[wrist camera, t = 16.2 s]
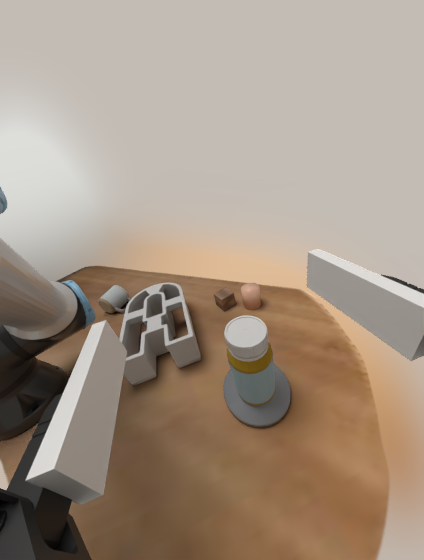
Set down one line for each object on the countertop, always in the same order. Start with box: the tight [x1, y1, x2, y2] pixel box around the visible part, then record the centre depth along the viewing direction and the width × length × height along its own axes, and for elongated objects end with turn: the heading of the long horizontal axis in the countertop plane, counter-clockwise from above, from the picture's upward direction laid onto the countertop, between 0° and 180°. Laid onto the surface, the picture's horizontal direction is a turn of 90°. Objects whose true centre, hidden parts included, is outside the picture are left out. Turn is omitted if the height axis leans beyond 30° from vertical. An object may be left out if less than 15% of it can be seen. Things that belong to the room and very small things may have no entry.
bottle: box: [224, 316, 275, 406], centre depth 32 cm, size 7×7×15 cm
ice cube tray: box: [119, 283, 201, 386], centre depth 53 cm, size 17×28×9 cm, turn 15°
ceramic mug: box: [98, 285, 131, 313], centre depth 70 cm, size 11×8×8 cm
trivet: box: [224, 364, 291, 428], centre depth 36 cm, size 12×12×1 cm
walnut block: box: [214, 288, 236, 311], centre depth 59 cm, size 4×4×4 cm
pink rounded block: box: [241, 283, 261, 310], centre depth 55 cm, size 5×5×6 cm
